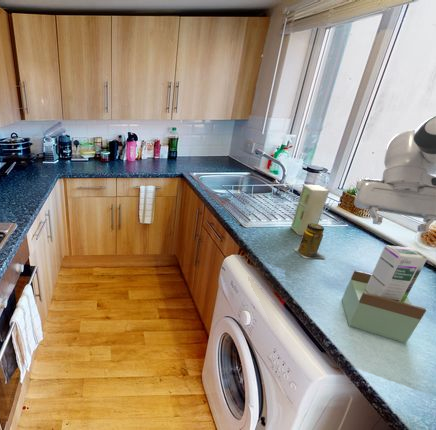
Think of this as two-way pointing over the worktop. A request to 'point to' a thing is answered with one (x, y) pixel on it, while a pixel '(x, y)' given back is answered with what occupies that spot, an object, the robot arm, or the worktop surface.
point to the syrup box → (395, 272)
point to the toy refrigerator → (309, 207)
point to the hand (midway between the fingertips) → (399, 227)
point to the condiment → (311, 241)
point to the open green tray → (379, 311)
